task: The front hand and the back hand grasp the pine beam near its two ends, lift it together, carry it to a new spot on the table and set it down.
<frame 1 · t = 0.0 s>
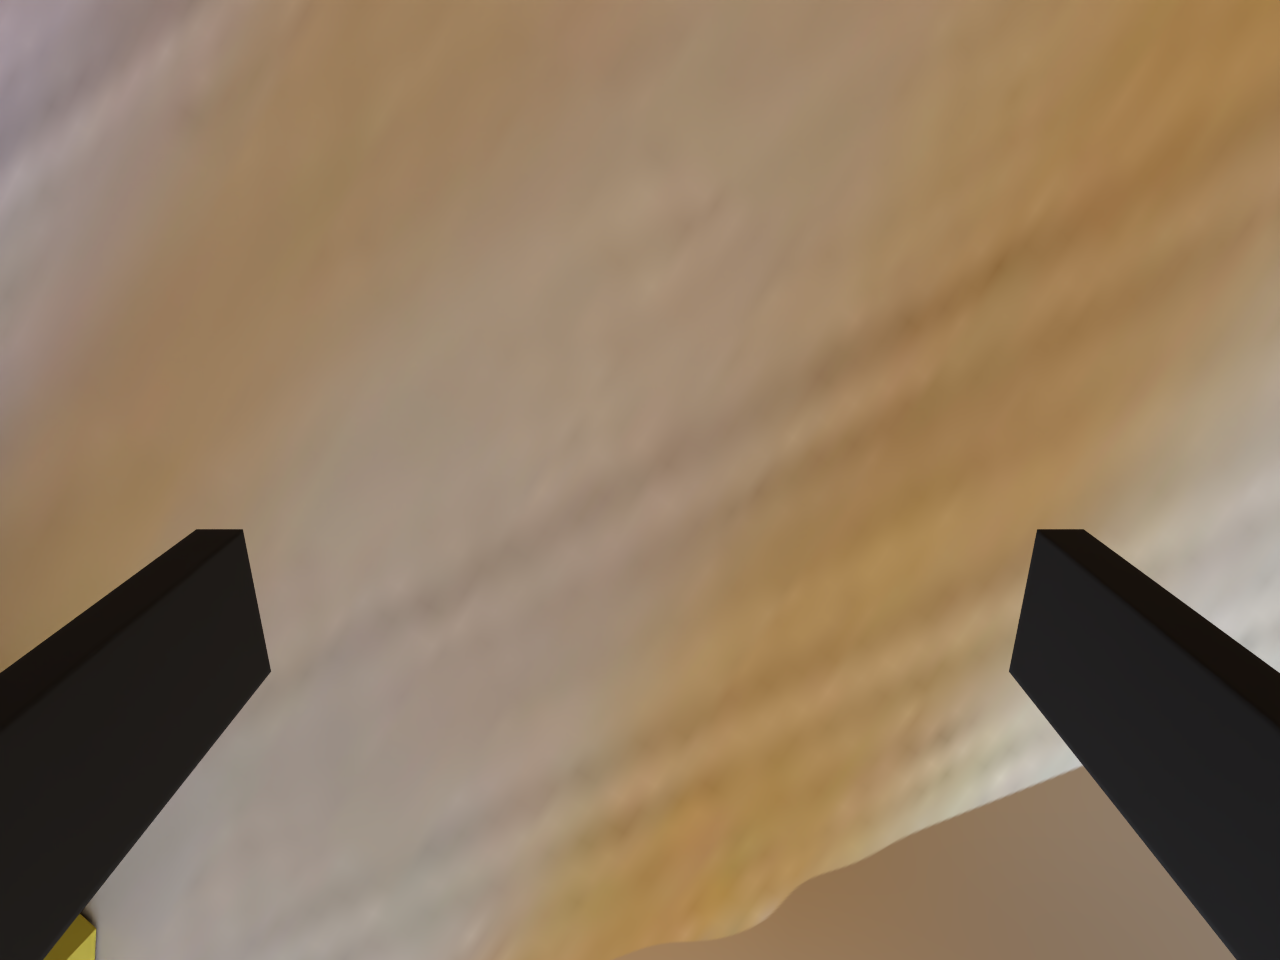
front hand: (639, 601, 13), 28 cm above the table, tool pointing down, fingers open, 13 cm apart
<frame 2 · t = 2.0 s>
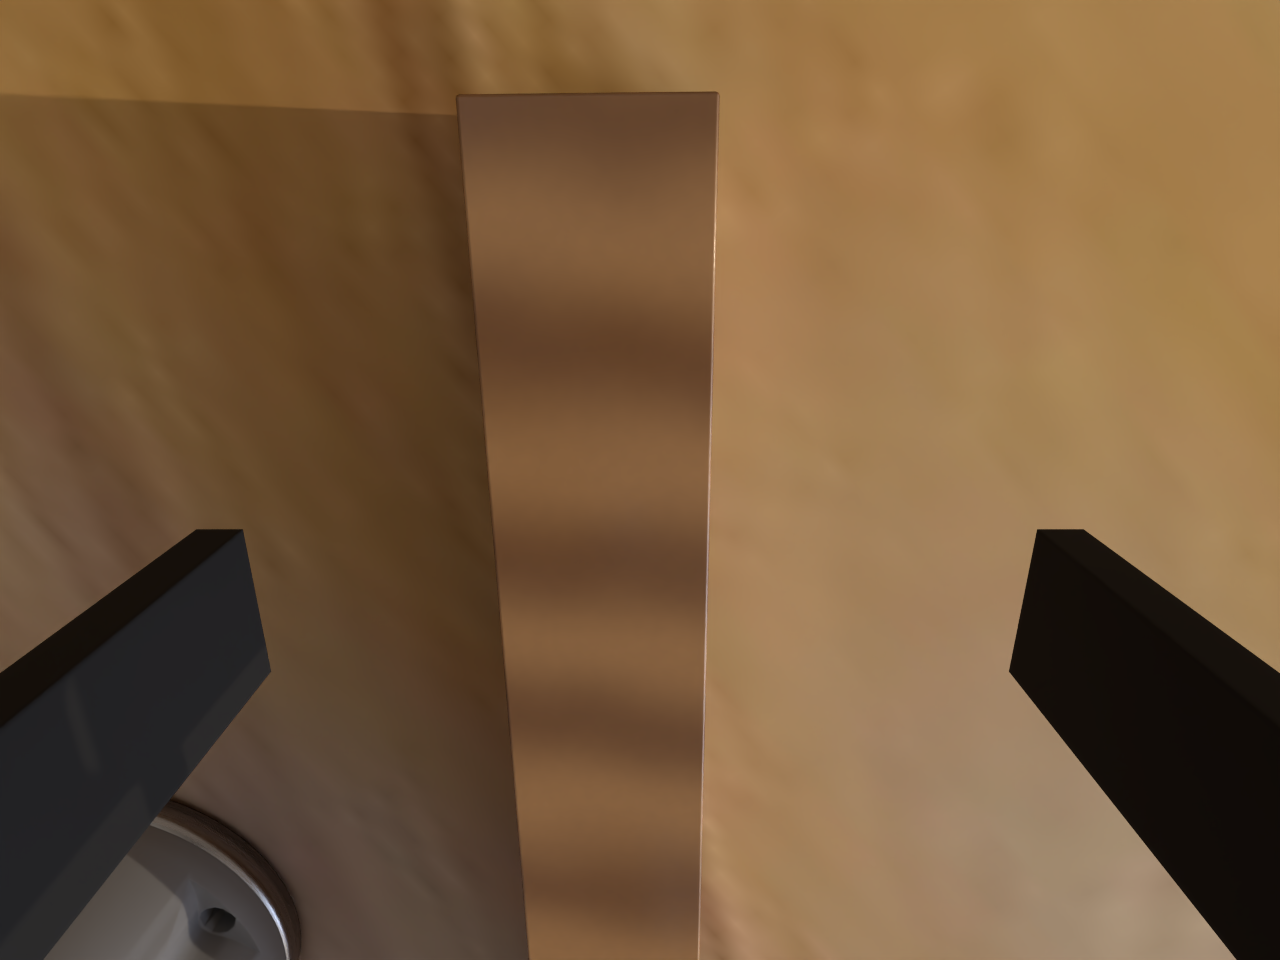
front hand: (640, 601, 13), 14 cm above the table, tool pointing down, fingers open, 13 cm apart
beam: (622, 929, 34), on the table
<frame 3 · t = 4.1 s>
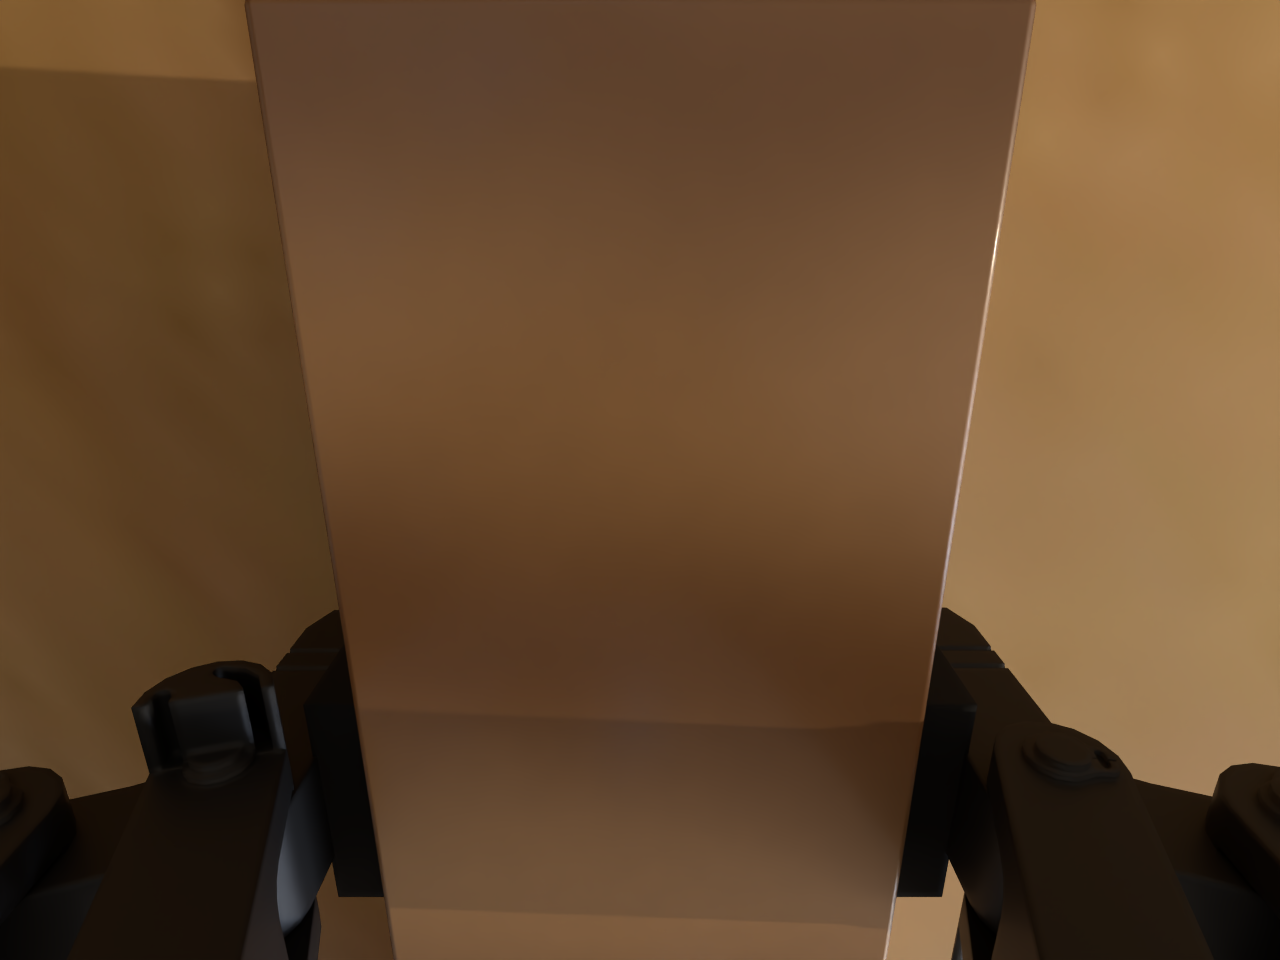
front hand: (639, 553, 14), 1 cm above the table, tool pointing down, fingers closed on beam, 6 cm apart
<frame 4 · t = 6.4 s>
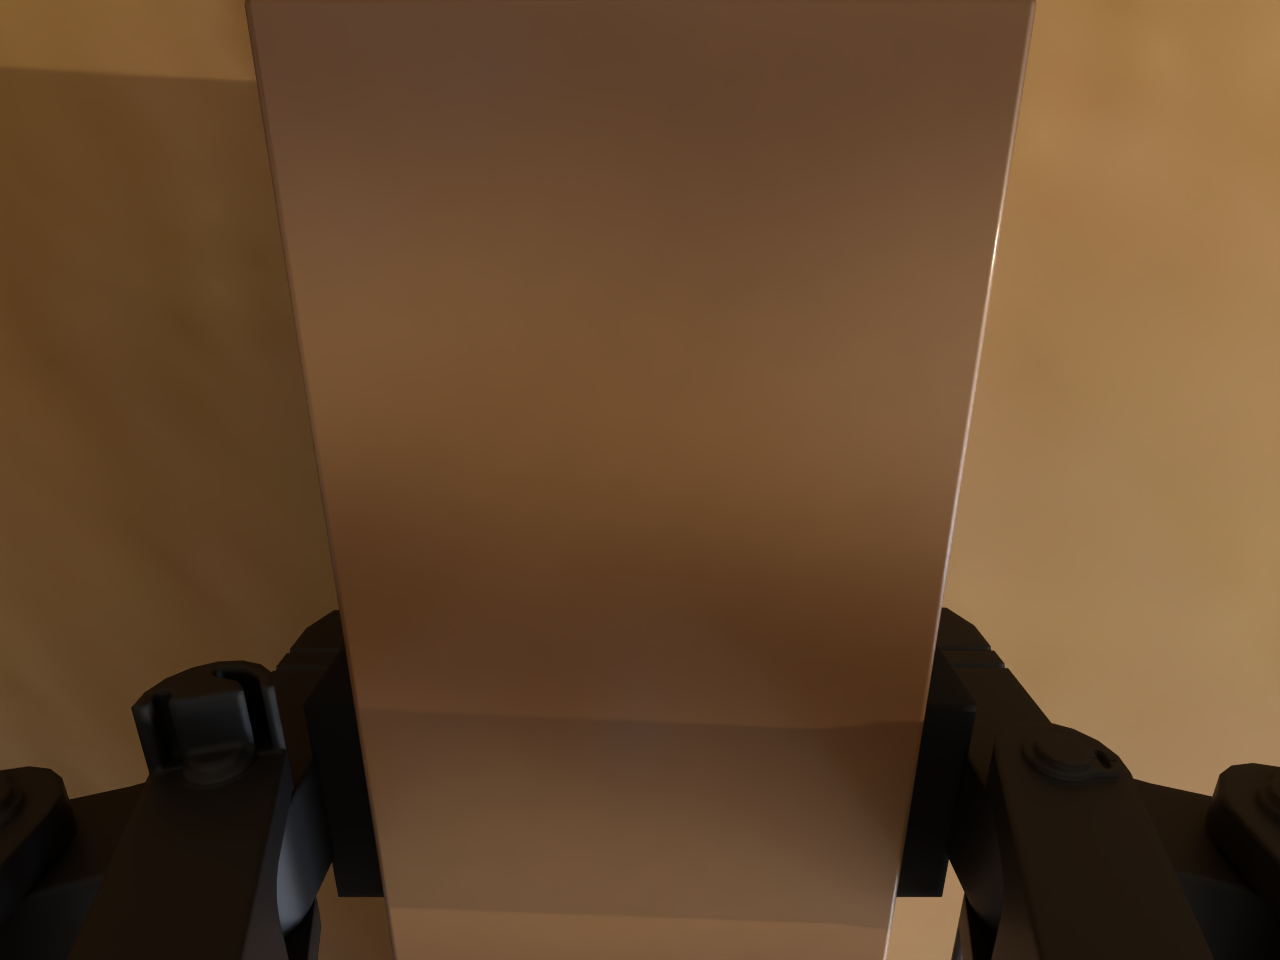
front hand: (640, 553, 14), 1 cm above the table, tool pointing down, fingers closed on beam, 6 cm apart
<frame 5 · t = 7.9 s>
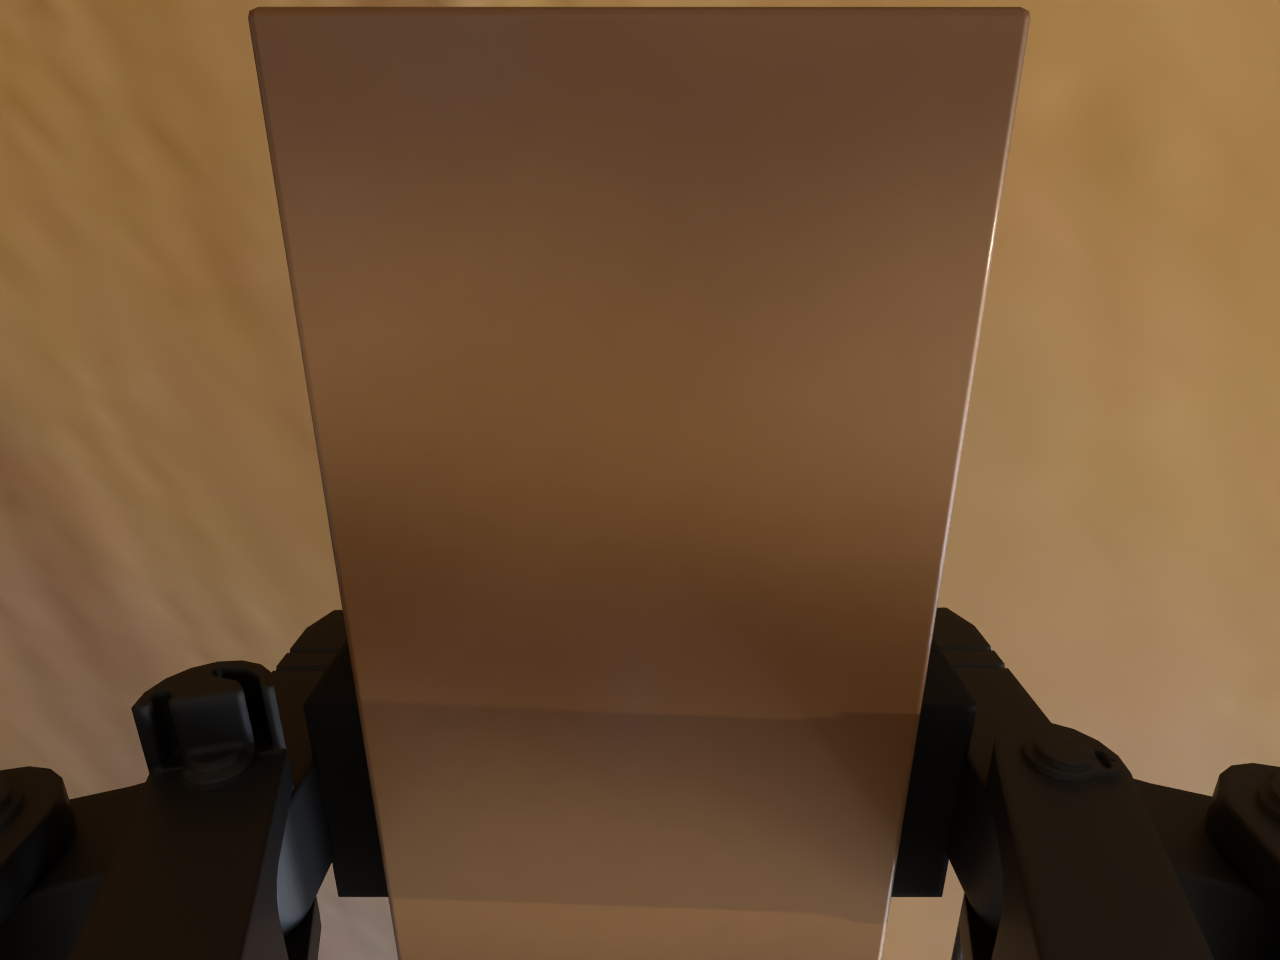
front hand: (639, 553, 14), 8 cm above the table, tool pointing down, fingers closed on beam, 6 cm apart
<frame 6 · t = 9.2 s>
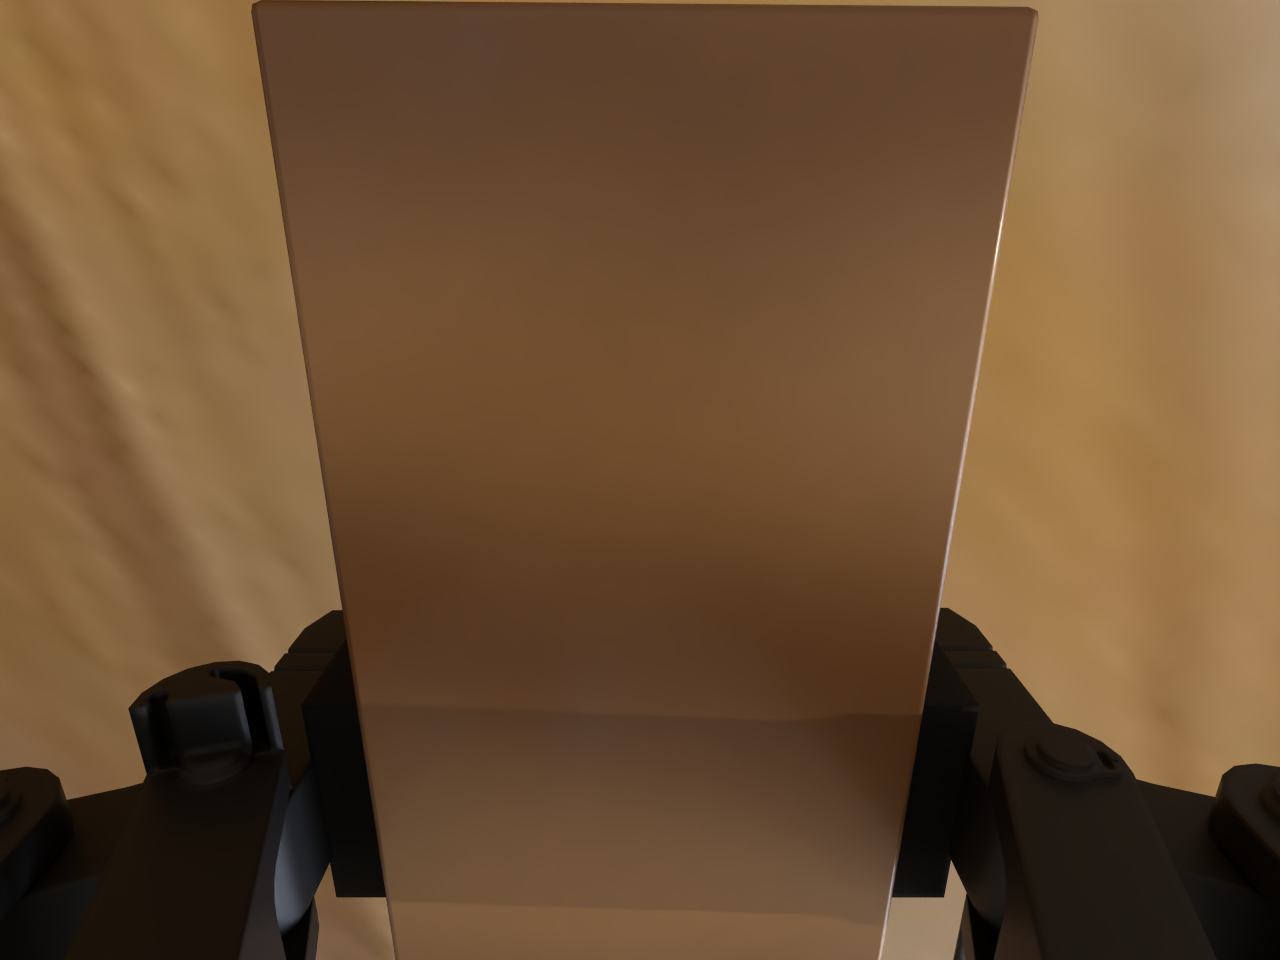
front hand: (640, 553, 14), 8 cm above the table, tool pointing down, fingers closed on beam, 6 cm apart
when the front hand's fingers open (2 cm above the table, at t = 12.0 s): beam drops 1 cm, on the table.
when the back hand's fingers open (4 cm above the table, at t = 12.2 s): beam stays where it is, on the table.
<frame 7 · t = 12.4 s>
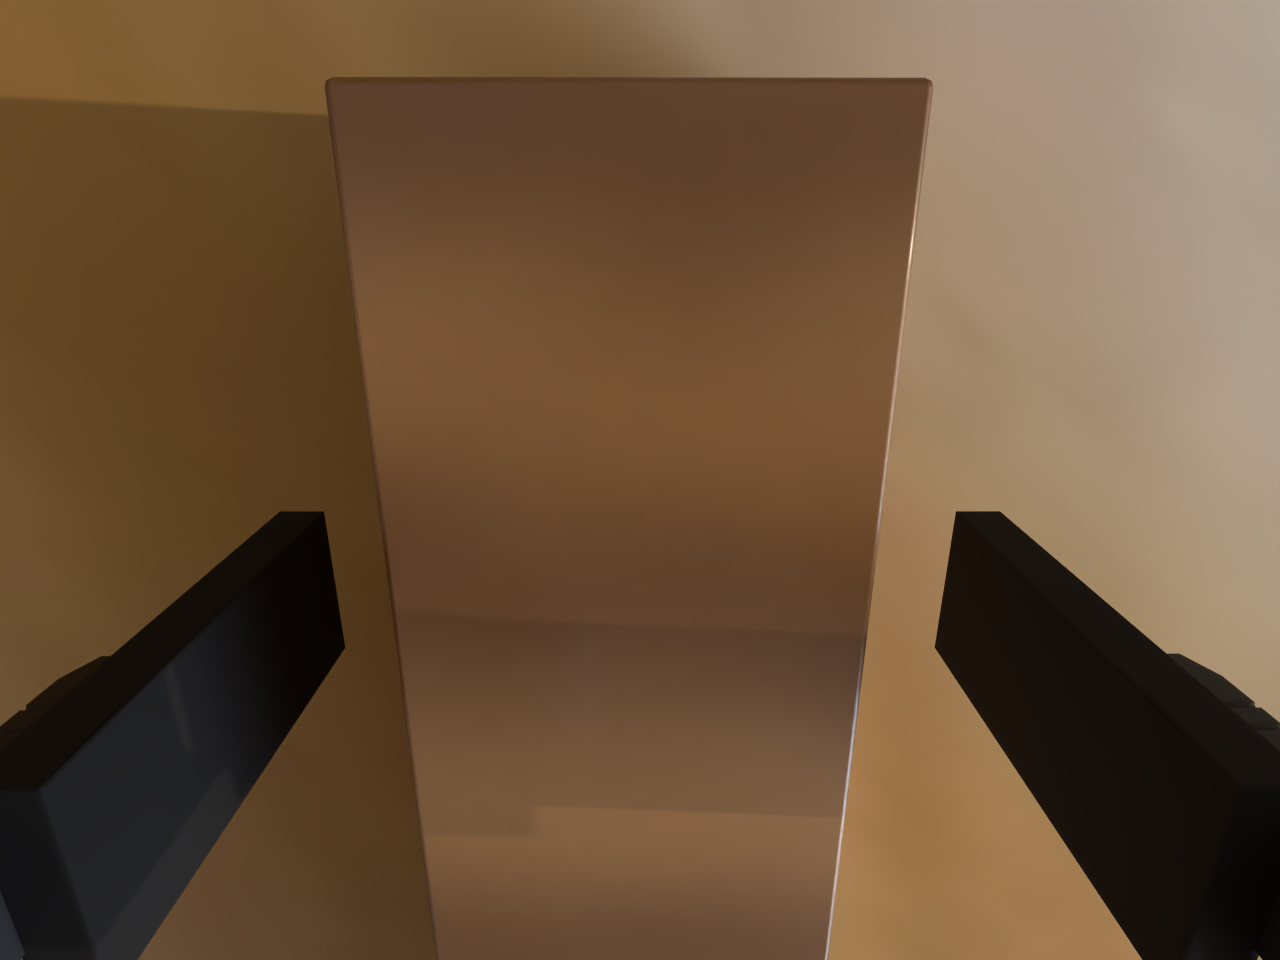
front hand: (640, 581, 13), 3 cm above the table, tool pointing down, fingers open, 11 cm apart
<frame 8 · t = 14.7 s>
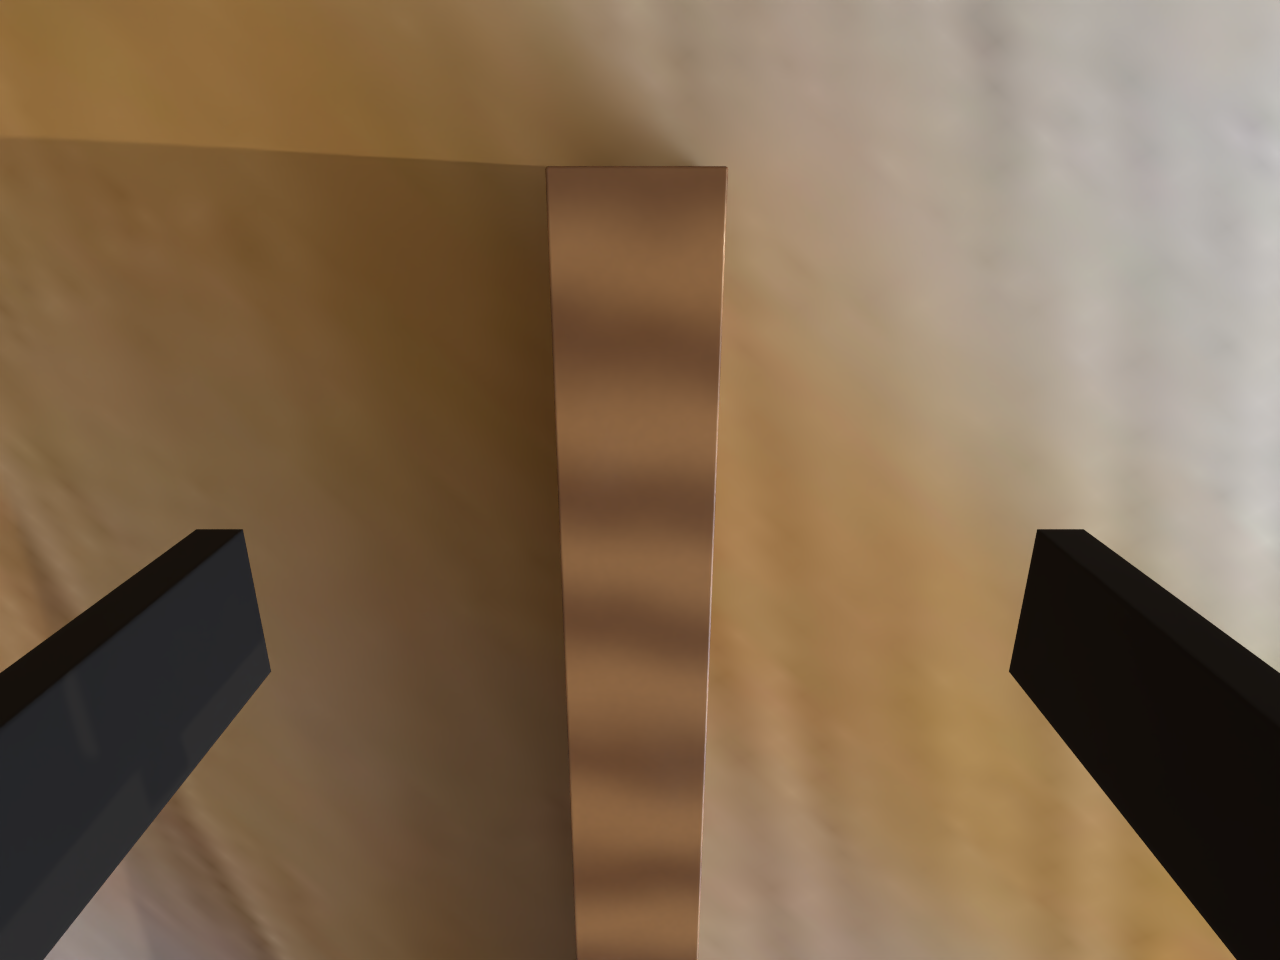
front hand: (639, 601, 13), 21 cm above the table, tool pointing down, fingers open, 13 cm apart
beam: (637, 826, 42), on the table
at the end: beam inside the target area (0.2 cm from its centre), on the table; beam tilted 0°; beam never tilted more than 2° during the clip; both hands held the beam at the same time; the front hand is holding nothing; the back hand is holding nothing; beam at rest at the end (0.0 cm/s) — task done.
